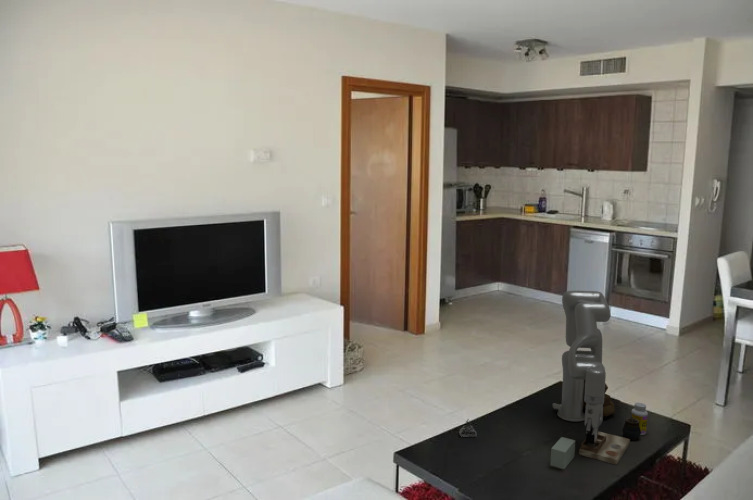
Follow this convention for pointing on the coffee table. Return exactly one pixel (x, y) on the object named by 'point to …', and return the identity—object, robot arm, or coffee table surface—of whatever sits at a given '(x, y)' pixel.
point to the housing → (562, 452)
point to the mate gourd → (631, 428)
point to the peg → (594, 439)
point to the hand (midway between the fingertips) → (591, 440)
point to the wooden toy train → (607, 406)
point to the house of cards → (470, 431)
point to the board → (606, 448)
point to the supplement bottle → (640, 416)
